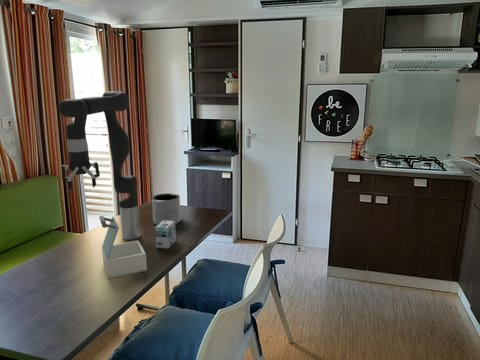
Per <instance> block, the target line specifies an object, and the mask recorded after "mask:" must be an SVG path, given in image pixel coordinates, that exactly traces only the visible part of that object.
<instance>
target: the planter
mask: <svg viewBox="0 0 480 360" xmlns="http://www.w3.org/2000/svg"><path fill="white" fill-rule="evenodd" d="M180 199H181V198H180V195H179V194H177V193H170V192H168V193H167V192H166V193H160V194H159V193H158V194H156V195H154V196H152V197H151V204H152V205H151V207H152V222H153V224H155V225H156V226H157V225H158V224H160V223H161V222H162V221H163V220H166V221H175V225H177V224H179V223H180V222H181V220H182V219H181V215H182V214H181V200H180Z"/></svg>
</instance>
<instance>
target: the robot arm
mask: <svg viewBox="0 0 480 360" xmlns="http://www.w3.org/2000/svg"><path fill="white" fill-rule="evenodd" d="M129 104H130V99H129V97H128V95H127V94H126V93H125V92H123V91H105V92H103V94H102V96H90V97H89V96H87V97H83V98H68V99H67V98H66V99H63V100H61V101H60V102H59V103H58V105H57V106H58V112H59V113H60V115H61V116H62V117H64V118H73V123H69V124H67V125H66V126H65V132H66V140H67V142H66V145H67V154H68V162H69V164H62V165H61V178H62V179H61V180H62V181H65V182H67V187H68V190H70V191H73V183H72V179H73V178H74V176H75V175H77V176H80V175H86V174H87V175H89V176H90V177H91V185H92V188H95V187H96V186H97V180H96V178H98V177H101V173H100V169H99V163H98V162H97V161H94V162H91V161H90V155H89V145H88V141H87V134H86V126H87V125H86V124H87V118H88V116H89V115H94V114H99V113H104V117H105V122H106V126H107V132H108V133H107V134H108V142H109V149H110V156H111V161H112V172H113V173H112V174H113V186H114V190H115V192H116V193H117V194H128V197H125V198H122V199H121V200H119V203H118V205H119V215H120V216H119V217H120V224H121V235H122V239H123V240H127V241H129V240H132V241H133V240H136V239H138V238H140V237H141V226H140V214H139V203H138V202H139V201H138V200H139V198H138V179H137V176H135V175H123V171H122V170H123V167H124V164H125V162H126V160H127V158H128V156H129V155H130V150H131V147H130V140H129V135H128V134H127V132H126V131H125V130H124V128H123V126H121V124H120V122H119V119H118V118H117V113H116V112H124V111H126V110H127V109H128V108H129ZM91 167H93V169H95V174H94V173H93V172H92V171H91V170H90V169H91ZM68 169H69V170H70V171H71V172H70V173H69V175H68V177H67V176H66V171H68Z"/></svg>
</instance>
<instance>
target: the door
mask: <svg viewBox="0 0 480 360" xmlns="http://www.w3.org/2000/svg"><path fill="white" fill-rule="evenodd" d="M99 221H100V223H101V227H102V228H107V230H106V234H105V237H104V239H103V243H102V245H101V248H102V247H103V250H104V253H105V257H106V260H108V258H109V255H110V252H111V249H112V247H113V245H115V244H114V243H115V240H116V237H117V235H118V233H119V229H120V226H119V224H118V222H117V221H116V217H114V216H111V218H109V217H105V216H104V215H99ZM107 222H110V223H107Z"/></svg>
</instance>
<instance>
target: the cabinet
mask: <svg viewBox="0 0 480 360" xmlns="http://www.w3.org/2000/svg"><path fill="white" fill-rule="evenodd" d="M101 252H102V253H101V254H102V261H103V262H102V263H103V267H104V269H105V273H106V277H107V280H110V279H115V278H119V277H121V278H122V277H125V276H130V275H135V274H138V273H143V272H147V271H148V266H147V254H146V252H145V250H144V248H143V246H142V244H141V242H140V241H139V240H132V241H128V242H127V241H125V242H121V243H115V244H113V247H112V249H111V252H110V255H109V258H108V260H106V257H105V253H104V250H103V247H102V246H101Z"/></svg>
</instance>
